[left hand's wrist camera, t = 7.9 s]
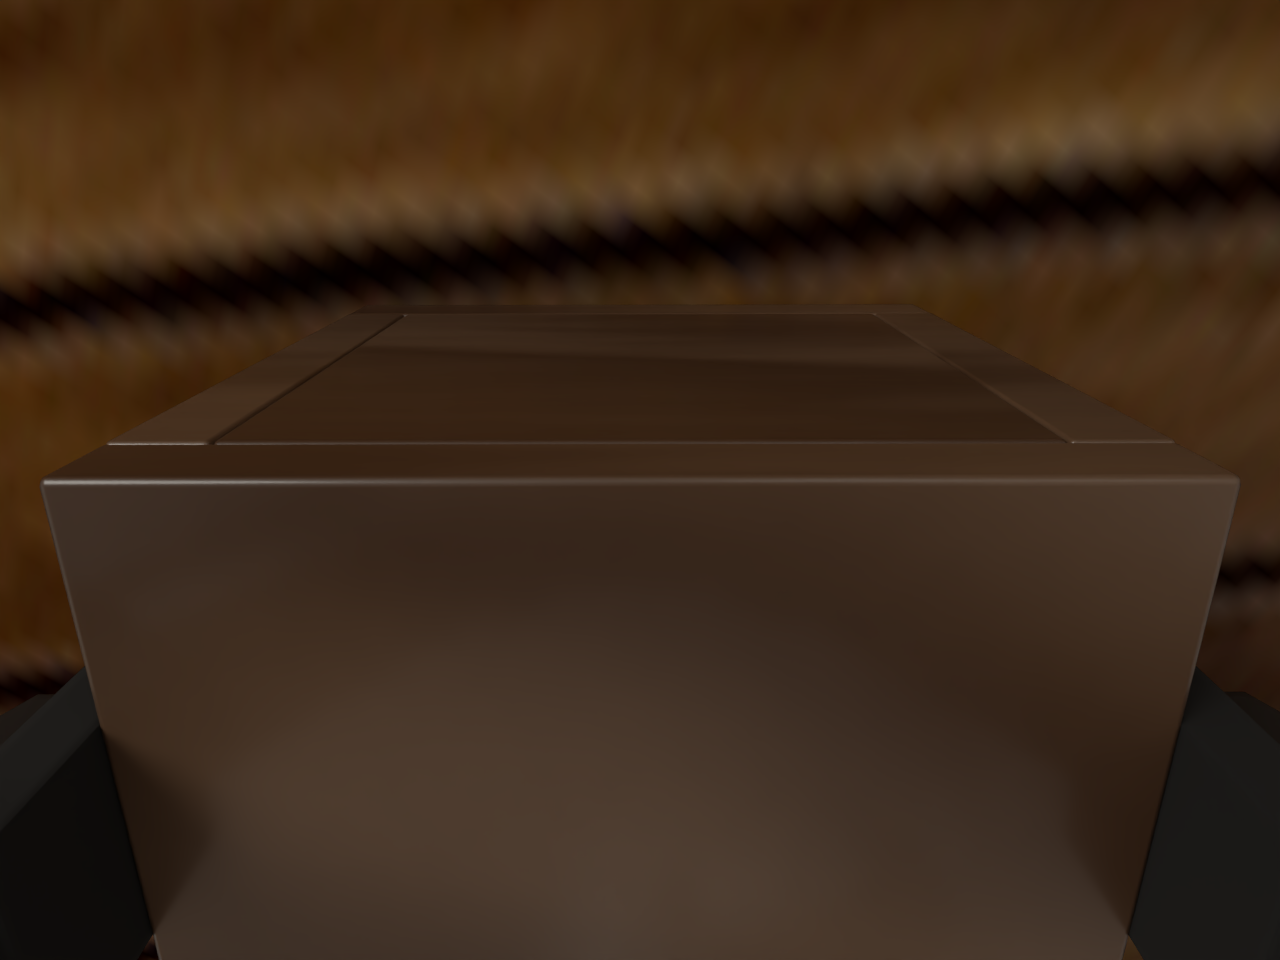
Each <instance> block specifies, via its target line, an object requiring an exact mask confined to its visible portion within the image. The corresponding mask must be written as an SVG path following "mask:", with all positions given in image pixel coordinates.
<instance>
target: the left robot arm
mask: <svg viewBox="0 0 1280 960" xmlns="http://www.w3.org/2000/svg"><path fill="white" fill-rule="evenodd" d="M152 935H153V933H152V929H151V925H150V921H149V917H148V913H147V909H146V905H145V901H144V897H143V893H142V889H141V885H140V881H139V877H138V873H137V869H136V865H135V861H134V857H133V853H132V850H131V846H130V842H129V838H128V834H127V830H126V826H125V822H124V818H123V814H122V810H121V806H120V802H119V798H118V794H117V790H116V786H115V782H114V778H113V774H112V770H111V767H110V763H109V759H108V755H107V751H106V747H105V743H104V739H103V735H102V731H101V727H100V723H99V719H98V715H97V711H96V707H95V703H94V699H93V695H92V691H91V688H90V684H89V680H88V676H87V672H86V668H85V666H84V667H83V668H82V669H81V670H80V671H79V672H78V673H77V674H76V675H75V676H74V677H73V678H72V679H71V680H70V681H69V682H68V683H66V684H65V685H64V686H63V687H62V688H61V689H60V690H59V691H58V692H57V693H56V694H55V695H36V696H34V697H33V698H31V699H29V700H27V701H26V702H24V703H22V704H20V705H19V706H17V707H15V708H13V709H11V710H10V711H8V712H6V713H4V714H3V715H1V716H0V960H137V959H138V957H139V956H140V954H141V953H142V951H143V949H144V948H145V946H146V944H147V943H148V941H149V940H150V938H151V936H152ZM1129 936H1130V938H1131V940H1132V941H1133V943H1134V944H1135V946H1136V948H1137V949H1138V951H1139V953H1140V954H1141V956H1142V957H1143V959H1144V960H1280V712H1279V711H1277V710H1276V709H1274V708H1272V707H1270V706H1268V705H1267V704H1265V703H1263V702H1261V701H1260V700H1258V699H1256V698H1254V697H1252V696H1251V695H1249V694H1247V693H1245V692H1223V691H1222V690H1221V689H1220V688H1219V687H1218V686H1217V685H1216V684H1215V683H1214V682H1212V681H1211V680H1210V679H1209V678H1208V677H1207V676H1206V675H1205V674H1204V673H1203V672H1202V671H1201V670H1200V669H1199V668H1198V667H1197V666H1195V670H1194V674H1193V678H1192V682H1191V686H1190V690H1189V694H1188V698H1187V702H1186V706H1185V710H1184V714H1183V718H1182V722H1181V726H1180V730H1179V734H1178V739H1177V743H1176V747H1175V751H1174V755H1173V759H1172V763H1171V767H1170V771H1169V775H1168V779H1167V783H1166V787H1165V791H1164V795H1163V799H1162V803H1161V807H1160V811H1159V815H1158V819H1157V823H1156V827H1155V831H1154V835H1153V839H1152V843H1151V847H1150V851H1149V855H1148V859H1147V863H1146V867H1145V871H1144V875H1143V879H1142V883H1141V887H1140V891H1139V895H1138V899H1137V903H1136V907H1135V911H1134V915H1133V919H1132V923H1131V927H1130V931H1129Z"/></svg>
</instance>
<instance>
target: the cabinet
mask: <svg viewBox="0 0 1280 960" xmlns="http://www.w3.org/2000/svg"><path fill="white" fill-rule="evenodd" d="M1240 486H1241V484H1240V478H1239V477H1238V476H1237V475H1236V474H1234V473H1232V472H1230V471H1228V470H1226V469H1224V468H1222V467H1220V466H1218V465H1217V464H1215V463H1213V462H1211V461H1209V460H1207V459H1205V458H1203V457H1201V456H1199V455H1198V454H1196V453H1194V452H1192V451H1190V450H1188V449H1186V448H1184V447H1182V446H1180V445H1178V444H1176V443H1175V442H1174V440H1172V439H1171V438H1169V437H1167V436H1165V435H1163V434H1161V433H1159V432H1157V431H1155V430H1153V429H1151V428H1150V427H1148V426H1146V425H1144V424H1142V423H1140V422H1138V421H1136V420H1134V419H1132V418H1130V417H1128V416H1127V415H1125V414H1123V413H1121V412H1119V411H1117V410H1115V409H1113V408H1111V407H1109V406H1107V405H1105V404H1104V403H1102V402H1100V401H1098V400H1096V399H1094V398H1092V397H1090V396H1088V395H1086V394H1084V393H1082V392H1081V391H1079V390H1077V389H1075V388H1073V387H1071V386H1069V385H1067V384H1065V383H1063V382H1061V381H1060V380H1058V379H1056V378H1054V377H1052V376H1050V375H1048V374H1046V373H1044V372H1042V371H1040V370H1038V369H1037V368H1035V367H1033V366H1031V365H1029V364H1027V363H1025V362H1023V361H1021V360H1019V359H1017V358H1015V357H1014V356H1012V355H1010V354H1008V353H1006V352H1004V351H1002V350H1000V349H998V348H996V347H994V346H992V345H991V344H989V343H987V342H985V341H983V340H981V339H979V338H977V337H975V336H973V335H971V334H970V333H968V332H966V331H964V330H962V329H960V328H958V327H956V326H954V325H952V324H950V323H948V322H947V321H945V320H943V319H941V318H939V317H937V316H935V315H933V314H931V313H928V312H926V311H924V310H923V309H921V308H919V307H917V306H915V305H913V304H911V305H367V306H365V307H363V308H361V309H359V310H357V311H356V312H354V313H352V314H350V315H347V316H346V317H344V318H342V319H340V320H338V321H336V322H334V323H332V324H330V325H328V326H327V327H325V328H323V329H321V330H319V331H317V332H315V333H313V334H311V335H310V336H308V337H306V338H304V339H302V340H300V341H298V342H296V343H294V344H292V345H291V346H289V347H287V348H285V349H283V350H281V351H279V352H277V353H275V354H273V355H272V356H270V357H268V358H266V359H264V360H262V361H260V362H258V363H256V364H255V365H253V366H251V367H249V368H247V369H245V370H243V371H241V372H239V373H237V374H236V375H234V376H232V377H230V378H228V379H226V380H224V381H222V382H220V383H218V384H217V385H215V386H213V387H211V388H209V389H207V390H205V391H203V392H201V393H200V394H198V395H196V396H194V397H192V398H190V399H188V400H186V401H184V402H182V403H181V404H179V405H177V406H175V407H173V408H171V409H169V410H167V411H165V412H163V413H162V414H160V415H158V416H156V417H154V418H152V419H150V420H148V421H146V422H145V423H143V424H141V425H139V426H137V427H135V428H133V429H131V430H129V431H127V432H126V433H124V434H122V435H120V436H118V437H116V438H114V439H112V440H110V441H108V442H107V445H104V446H102V447H100V448H98V449H96V450H94V451H92V452H90V453H88V454H86V455H85V456H83V457H81V458H79V459H77V460H75V461H73V462H71V463H69V464H68V465H66V466H64V467H62V468H60V469H58V470H56V471H54V472H53V473H51V474H49V475H47V476H45V477H43V478H42V480H41V482H40V490H41V494H42V498H43V502H44V506H45V510H46V514H47V518H48V522H49V525H50V529H51V533H52V537H53V541H54V545H55V549H56V553H57V557H58V561H59V565H60V569H61V573H62V577H63V581H64V585H65V589H66V593H67V597H68V601H69V605H70V608H71V612H72V616H73V620H74V624H75V628H76V632H77V636H78V640H79V644H80V648H81V652H82V656H83V660H84V664H85V668H86V672H87V676H88V680H89V684H90V688H91V691H92V695H93V699H94V703H95V707H96V711H97V715H98V719H99V723H100V727H101V731H102V735H103V739H104V743H105V747H106V751H107V755H108V759H109V763H110V767H111V770H112V774H113V778H114V782H115V786H116V790H117V794H118V798H119V802H120V806H121V810H122V814H123V818H124V822H125V826H126V830H127V834H128V838H129V842H130V846H131V850H132V853H133V857H134V861H135V865H136V869H137V873H138V877H139V881H140V885H141V889H142V893H143V897H144V901H145V905H146V909H147V913H148V917H149V921H150V925H151V929H152V933H153V936H154V940H155V944H156V948H157V952H158V956H159V960H1122V959H1123V955H1124V951H1125V947H1126V943H1127V939H1128V935H1129V931H1130V927H1131V923H1132V919H1133V915H1134V911H1135V907H1136V903H1137V899H1138V895H1139V891H1140V887H1141V883H1142V879H1143V875H1144V871H1145V867H1146V863H1147V859H1148V855H1149V851H1150V847H1151V843H1152V839H1153V835H1154V831H1155V827H1156V823H1157V819H1158V815H1159V811H1160V807H1161V803H1162V799H1163V795H1164V791H1165V787H1166V783H1167V779H1168V775H1169V771H1170V767H1171V763H1172V759H1173V755H1174V751H1175V747H1176V743H1177V739H1178V734H1179V730H1180V726H1181V722H1182V718H1183V714H1184V710H1185V706H1186V702H1187V698H1188V694H1189V690H1190V686H1191V682H1192V678H1193V674H1194V670H1195V666H1196V662H1197V658H1198V654H1199V650H1200V646H1201V642H1202V638H1203V634H1204V630H1205V626H1206V622H1207V618H1208V614H1209V610H1210V606H1211V602H1212V598H1213V594H1214V590H1215V586H1216V582H1217V578H1218V574H1219V570H1220V566H1221V562H1222V558H1223V554H1224V550H1225V546H1226V542H1227V538H1228V534H1229V530H1230V526H1231V522H1232V518H1233V514H1234V510H1235V506H1236V502H1237V498H1238V494H1239V490H1240Z"/></svg>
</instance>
